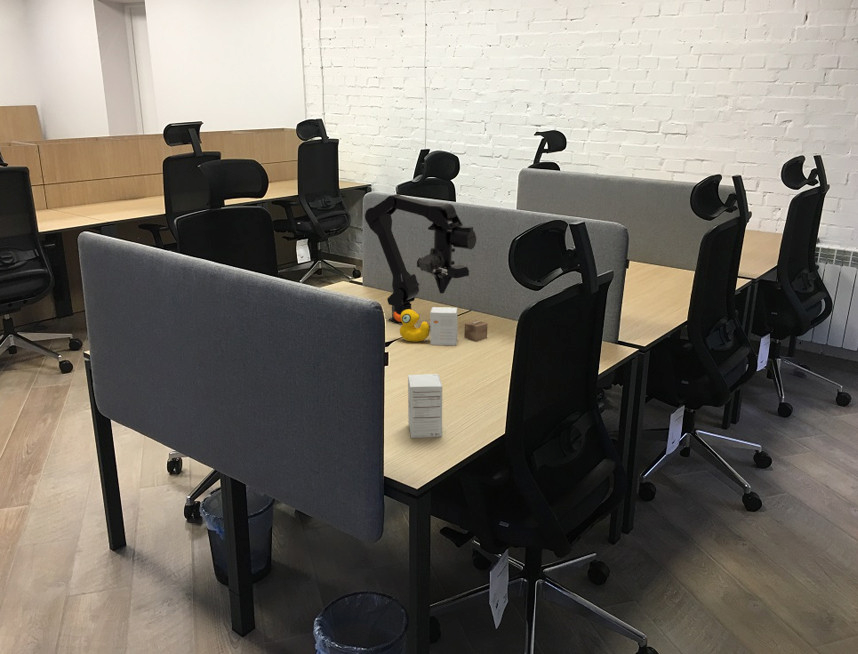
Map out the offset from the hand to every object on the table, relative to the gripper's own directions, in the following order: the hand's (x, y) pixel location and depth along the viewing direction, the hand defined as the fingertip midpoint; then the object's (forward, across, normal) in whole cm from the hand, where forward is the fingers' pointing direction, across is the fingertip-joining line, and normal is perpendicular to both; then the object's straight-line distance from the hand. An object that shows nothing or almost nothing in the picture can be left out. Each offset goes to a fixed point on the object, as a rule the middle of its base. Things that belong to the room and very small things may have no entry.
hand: (441, 293), depth 238 cm
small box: (+12, +10, -8) cm, 18 cm away
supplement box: (+12, +52, -53) cm, 75 cm away
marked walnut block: (+12, +14, +2) cm, 18 cm away
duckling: (+12, +3, -15) cm, 19 cm away
